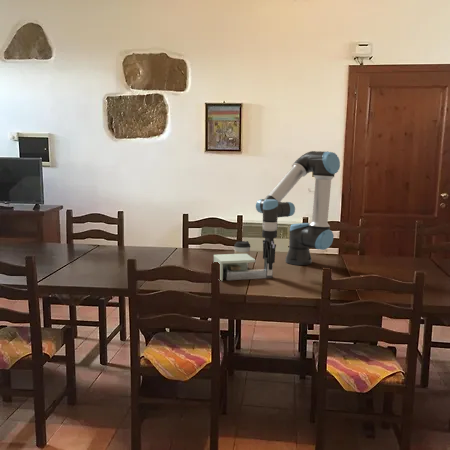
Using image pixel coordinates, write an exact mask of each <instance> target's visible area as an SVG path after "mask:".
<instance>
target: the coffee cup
mask: <svg viewBox="0 0 450 450" xmlns="http://www.w3.org/2000/svg"><path fill="white" fill-rule="evenodd" d="M233 251H234V254H248V255H250V256H251V244H250V242H249V241H248V240H246V241H245V240H244V241H243V240H240V241H236V242H235V243H234V250H233ZM247 270H249V263H247Z"/></svg>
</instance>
